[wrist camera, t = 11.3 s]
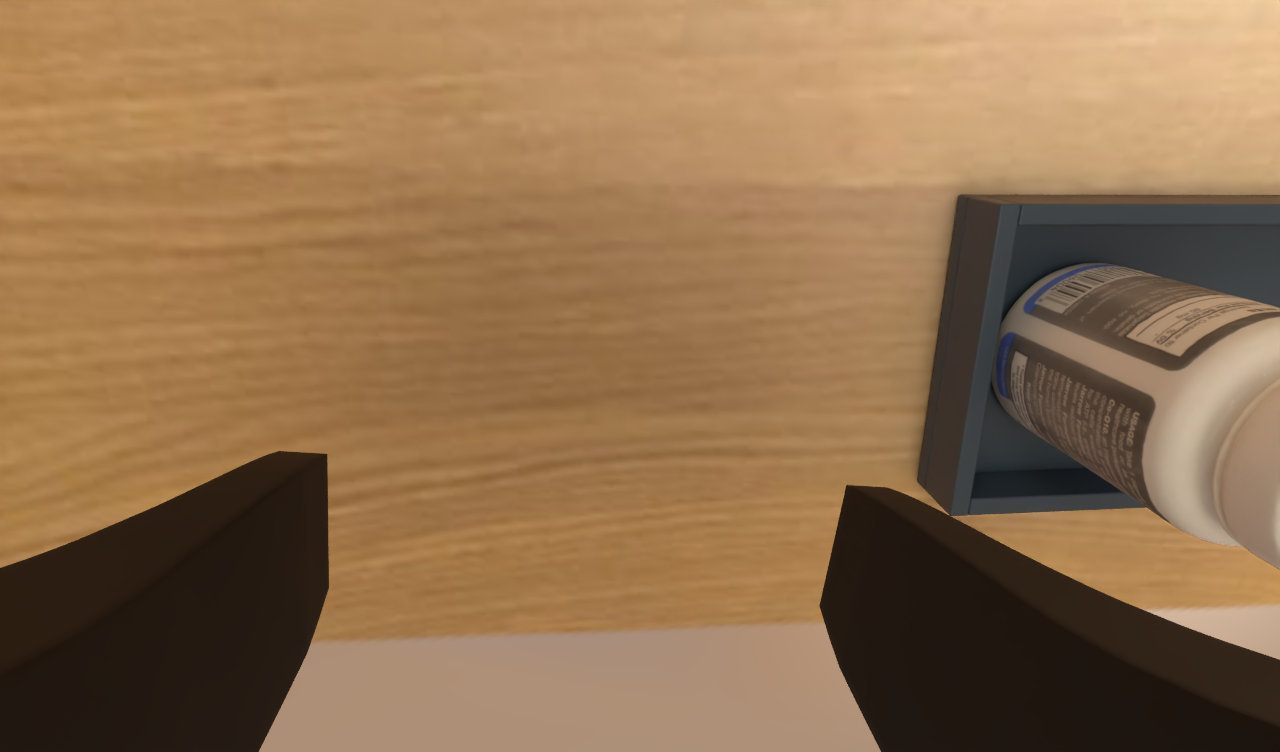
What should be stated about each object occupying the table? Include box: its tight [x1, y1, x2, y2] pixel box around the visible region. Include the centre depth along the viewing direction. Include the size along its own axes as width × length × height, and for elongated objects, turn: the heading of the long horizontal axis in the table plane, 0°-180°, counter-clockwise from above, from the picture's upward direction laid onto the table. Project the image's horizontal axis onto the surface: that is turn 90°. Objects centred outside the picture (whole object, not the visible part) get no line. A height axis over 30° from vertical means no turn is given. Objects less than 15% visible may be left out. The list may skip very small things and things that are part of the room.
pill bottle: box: [991, 263, 1280, 570], centre depth 17 cm, size 5×5×8 cm
